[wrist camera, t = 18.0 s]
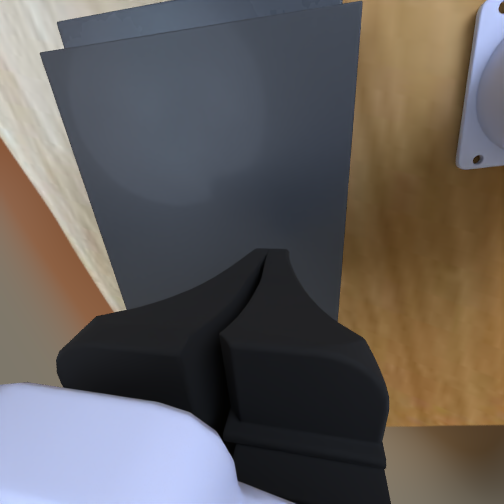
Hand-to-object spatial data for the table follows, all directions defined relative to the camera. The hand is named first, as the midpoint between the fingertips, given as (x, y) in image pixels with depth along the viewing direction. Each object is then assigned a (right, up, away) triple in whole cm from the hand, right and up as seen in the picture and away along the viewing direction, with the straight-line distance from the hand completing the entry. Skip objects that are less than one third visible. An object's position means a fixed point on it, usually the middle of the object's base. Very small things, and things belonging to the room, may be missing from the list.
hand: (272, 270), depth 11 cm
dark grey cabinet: (-2, +6, +9) cm, 11 cm away
